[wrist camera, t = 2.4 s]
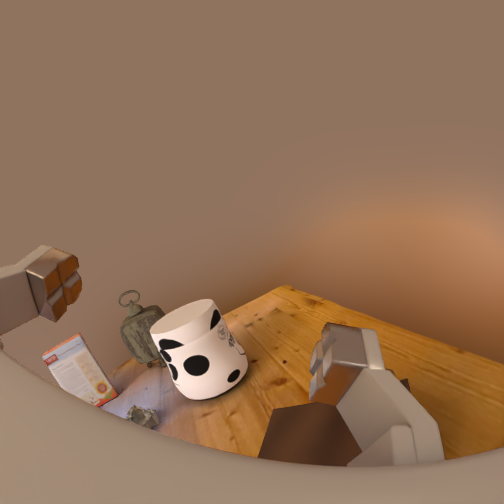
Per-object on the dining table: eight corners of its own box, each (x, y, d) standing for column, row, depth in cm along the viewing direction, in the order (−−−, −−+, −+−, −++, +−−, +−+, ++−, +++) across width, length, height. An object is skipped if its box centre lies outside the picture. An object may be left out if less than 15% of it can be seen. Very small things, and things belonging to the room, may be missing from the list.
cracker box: (116, 389, 75) (80, 331, 71) (119, 396, 70) (80, 334, 66) (81, 409, 67) (43, 351, 64) (82, 417, 62) (41, 356, 59)
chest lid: (408, 382, 27) (400, 342, 26) (425, 471, 15) (425, 435, 14) (275, 413, 32) (256, 379, 31) (248, 494, 21) (220, 463, 20)
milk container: (265, 358, 64) (233, 290, 61) (227, 410, 49) (182, 334, 47) (210, 361, 73) (179, 302, 70) (171, 403, 59) (130, 338, 56)
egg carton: (144, 415, 56) (134, 403, 56) (165, 418, 53) (155, 405, 52) (117, 444, 47) (106, 431, 46) (138, 450, 44) (126, 437, 43)
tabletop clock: (184, 349, 88) (148, 279, 84) (186, 360, 79) (145, 284, 75) (146, 367, 84) (108, 299, 81) (144, 379, 76) (101, 305, 72)
